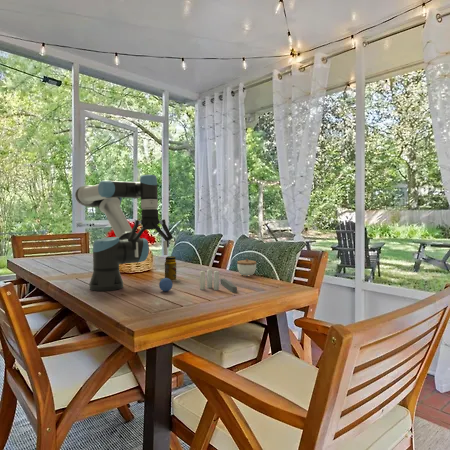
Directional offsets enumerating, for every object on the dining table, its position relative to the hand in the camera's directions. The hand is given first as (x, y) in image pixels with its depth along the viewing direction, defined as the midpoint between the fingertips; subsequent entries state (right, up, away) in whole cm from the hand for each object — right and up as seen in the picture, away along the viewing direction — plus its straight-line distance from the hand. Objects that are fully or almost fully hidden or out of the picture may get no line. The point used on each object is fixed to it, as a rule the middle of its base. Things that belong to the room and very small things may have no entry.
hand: (151, 256), depth 170 cm
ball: (+7, -13, 0) cm, 15 cm away
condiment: (+4, -15, +27) cm, 31 cm away
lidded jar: (+46, -14, +41) cm, 63 cm away
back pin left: (+26, -16, +8) cm, 31 cm away
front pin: (+23, -16, +5) cm, 28 cm away
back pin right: (+29, -16, +4) cm, 34 cm away
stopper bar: (+35, -16, +8) cm, 39 cm away
